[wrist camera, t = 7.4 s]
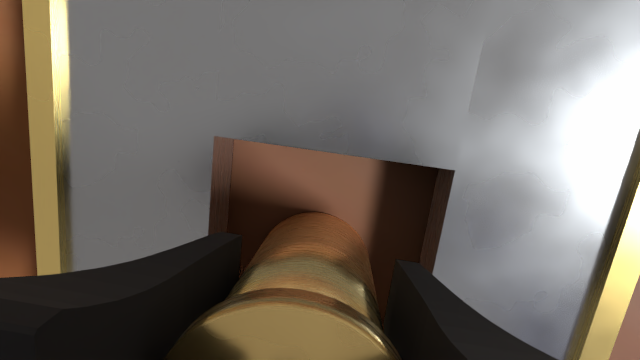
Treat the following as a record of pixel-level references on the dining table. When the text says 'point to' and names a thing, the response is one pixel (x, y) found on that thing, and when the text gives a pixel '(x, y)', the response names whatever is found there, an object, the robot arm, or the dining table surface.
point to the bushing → (296, 301)
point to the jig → (356, 134)
